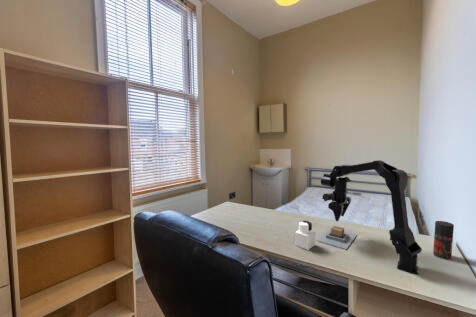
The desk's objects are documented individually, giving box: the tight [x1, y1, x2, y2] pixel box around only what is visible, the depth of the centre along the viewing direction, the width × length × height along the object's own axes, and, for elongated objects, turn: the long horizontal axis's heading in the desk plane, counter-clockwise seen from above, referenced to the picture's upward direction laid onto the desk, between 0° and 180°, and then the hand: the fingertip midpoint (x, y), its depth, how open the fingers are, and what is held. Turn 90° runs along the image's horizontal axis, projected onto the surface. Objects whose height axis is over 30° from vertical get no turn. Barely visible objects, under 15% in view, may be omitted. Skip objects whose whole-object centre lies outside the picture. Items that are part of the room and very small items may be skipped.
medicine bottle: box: [294, 220, 316, 251], centre depth 109 cm, size 7×7×12 cm
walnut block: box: [330, 225, 345, 239], centre depth 116 cm, size 5×5×5 cm
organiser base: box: [316, 227, 358, 250], centre depth 116 cm, size 20×14×2 cm
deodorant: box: [432, 220, 455, 261], centre depth 97 cm, size 6×6×15 cm
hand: (339, 218), depth 115 cm, fingers open, 9 cm apart
